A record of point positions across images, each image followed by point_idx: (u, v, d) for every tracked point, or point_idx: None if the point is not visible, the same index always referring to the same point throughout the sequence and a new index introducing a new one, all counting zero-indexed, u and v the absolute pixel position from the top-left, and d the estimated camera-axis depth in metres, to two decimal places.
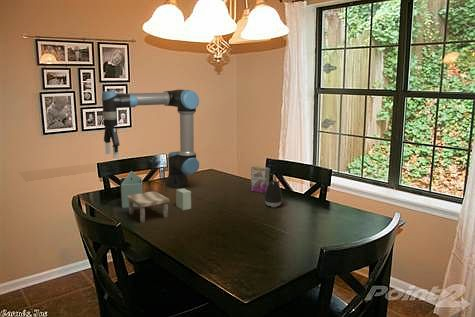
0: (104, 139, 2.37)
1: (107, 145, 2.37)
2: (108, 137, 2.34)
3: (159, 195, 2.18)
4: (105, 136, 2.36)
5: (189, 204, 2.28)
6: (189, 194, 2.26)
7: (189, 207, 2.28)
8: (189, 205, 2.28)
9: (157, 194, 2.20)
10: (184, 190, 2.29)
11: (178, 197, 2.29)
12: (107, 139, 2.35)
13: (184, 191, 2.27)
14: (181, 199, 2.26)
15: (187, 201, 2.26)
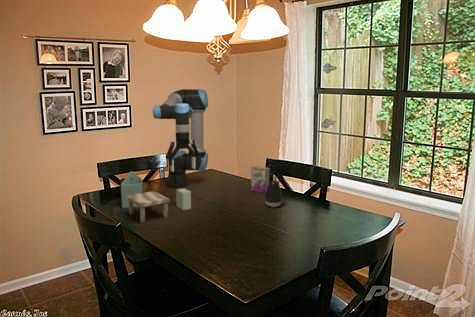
0: (195, 153, 2.30)
1: (192, 159, 2.29)
2: (189, 151, 2.26)
3: (159, 195, 2.18)
4: (193, 150, 2.29)
5: (189, 204, 2.28)
6: (189, 194, 2.26)
7: (189, 207, 2.28)
8: (189, 205, 2.28)
9: (157, 194, 2.20)
10: (184, 190, 2.29)
11: (178, 197, 2.29)
12: (191, 153, 2.28)
13: (184, 191, 2.27)
14: (181, 199, 2.26)
15: (187, 201, 2.26)
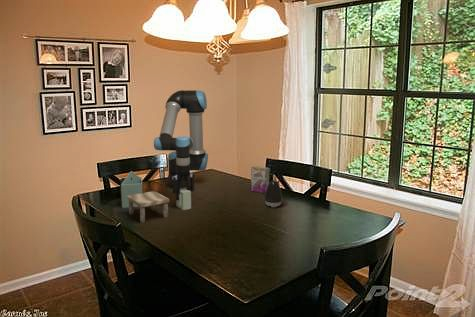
0: None
1: None
2: (186, 184, 2.29)
3: (159, 195, 2.18)
4: (190, 184, 2.31)
5: (189, 204, 2.28)
6: (189, 194, 2.26)
7: (189, 207, 2.28)
8: (189, 205, 2.28)
9: (157, 194, 2.20)
10: (184, 190, 2.28)
11: None
12: (187, 187, 2.30)
13: (184, 191, 2.27)
14: (181, 199, 2.26)
15: (187, 201, 2.26)
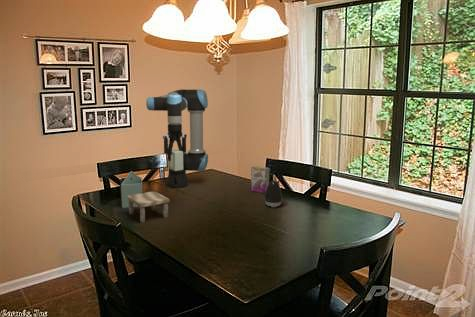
0: None
1: None
2: (178, 145, 2.21)
3: (159, 195, 2.18)
4: (182, 145, 2.24)
5: (181, 165, 2.20)
6: (181, 154, 2.19)
7: (181, 168, 2.20)
8: (181, 166, 2.20)
9: (157, 194, 2.20)
10: (176, 151, 2.21)
11: None
12: (179, 148, 2.22)
13: (176, 151, 2.19)
14: (173, 159, 2.18)
15: (179, 161, 2.19)
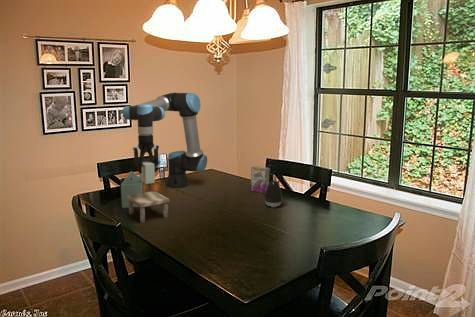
0: (154, 160, 2.15)
1: None
2: (150, 157, 2.12)
3: (159, 195, 2.18)
4: (154, 156, 2.14)
5: (152, 178, 2.10)
6: (152, 167, 2.09)
7: (153, 181, 2.10)
8: (152, 179, 2.10)
9: (157, 194, 2.20)
10: (147, 163, 2.11)
11: None
12: (150, 160, 2.12)
13: (147, 163, 2.09)
14: (144, 172, 2.09)
15: (150, 174, 2.09)
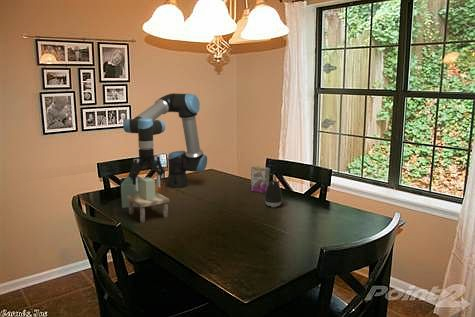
0: (160, 170, 2.18)
1: (157, 177, 2.16)
2: (154, 168, 2.14)
3: (159, 195, 2.18)
4: None
5: (153, 194, 2.12)
6: (153, 183, 2.11)
7: (153, 197, 2.12)
8: (153, 195, 2.12)
9: (157, 194, 2.20)
10: (148, 179, 2.13)
11: (141, 186, 2.14)
12: (155, 170, 2.15)
13: (148, 180, 2.11)
14: (144, 188, 2.10)
15: (151, 190, 2.11)
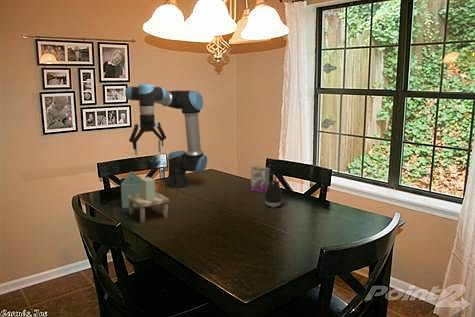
0: (162, 136, 2.20)
1: (159, 142, 2.19)
2: (155, 134, 2.17)
3: (159, 195, 2.18)
4: (160, 133, 2.19)
5: (153, 194, 2.12)
6: (153, 183, 2.11)
7: (153, 197, 2.12)
8: (153, 195, 2.12)
9: (157, 194, 2.20)
10: (148, 179, 2.13)
11: (141, 186, 2.14)
12: (157, 136, 2.18)
13: (148, 180, 2.11)
14: (144, 188, 2.10)
15: (151, 190, 2.11)
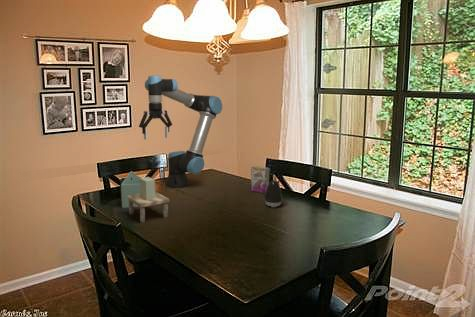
0: (168, 123, 2.45)
1: (165, 129, 2.43)
2: (162, 121, 2.41)
3: (159, 195, 2.18)
4: None
5: (153, 194, 2.12)
6: (153, 183, 2.11)
7: (153, 197, 2.12)
8: (153, 195, 2.12)
9: (157, 194, 2.20)
10: (148, 179, 2.13)
11: (141, 186, 2.14)
12: (164, 123, 2.42)
13: (148, 180, 2.11)
14: (144, 188, 2.10)
15: (151, 190, 2.11)
